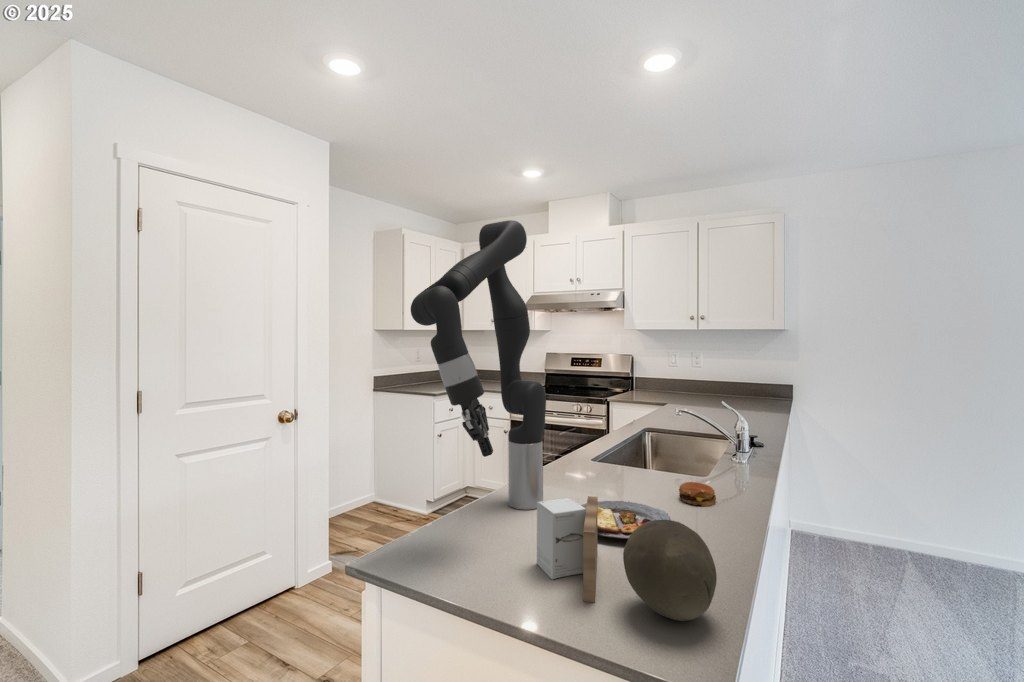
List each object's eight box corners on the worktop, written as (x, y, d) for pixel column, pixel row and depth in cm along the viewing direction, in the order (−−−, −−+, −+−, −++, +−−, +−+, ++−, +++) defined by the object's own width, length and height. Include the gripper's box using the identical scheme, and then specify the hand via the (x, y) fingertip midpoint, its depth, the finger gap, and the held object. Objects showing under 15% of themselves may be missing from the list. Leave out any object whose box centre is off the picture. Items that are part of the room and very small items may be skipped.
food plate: (680, 550, 105) (679, 533, 105) (569, 544, 109) (569, 528, 109) (664, 511, 129) (664, 498, 130) (574, 508, 133) (574, 495, 133)
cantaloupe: (694, 591, 88) (694, 507, 88) (731, 640, 74) (732, 540, 74) (615, 593, 88) (615, 508, 88) (638, 642, 74) (638, 542, 74)
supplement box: (551, 580, 92) (551, 513, 92) (535, 563, 99) (535, 500, 99) (586, 573, 95) (586, 508, 95) (568, 557, 102) (568, 496, 102)
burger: (697, 494, 143) (697, 477, 143) (723, 504, 134) (723, 487, 134) (670, 498, 139) (670, 482, 139) (695, 509, 130) (695, 492, 130)
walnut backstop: (587, 553, 104) (587, 496, 104) (597, 554, 103) (597, 496, 103) (583, 601, 85) (583, 531, 85) (595, 602, 85) (595, 532, 85)
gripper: (470, 378, 98) (500, 459, 99) (482, 368, 112) (509, 440, 112) (436, 390, 100) (465, 470, 100) (452, 379, 113) (478, 450, 113)
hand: (488, 454), depth 106 cm, fingers closed
